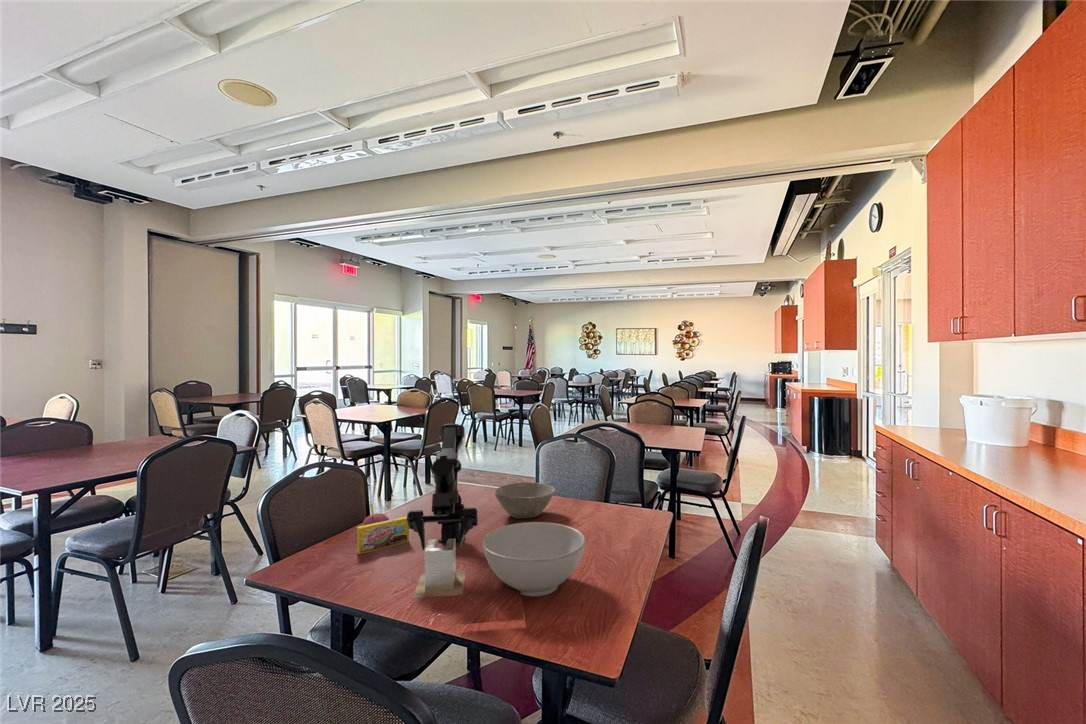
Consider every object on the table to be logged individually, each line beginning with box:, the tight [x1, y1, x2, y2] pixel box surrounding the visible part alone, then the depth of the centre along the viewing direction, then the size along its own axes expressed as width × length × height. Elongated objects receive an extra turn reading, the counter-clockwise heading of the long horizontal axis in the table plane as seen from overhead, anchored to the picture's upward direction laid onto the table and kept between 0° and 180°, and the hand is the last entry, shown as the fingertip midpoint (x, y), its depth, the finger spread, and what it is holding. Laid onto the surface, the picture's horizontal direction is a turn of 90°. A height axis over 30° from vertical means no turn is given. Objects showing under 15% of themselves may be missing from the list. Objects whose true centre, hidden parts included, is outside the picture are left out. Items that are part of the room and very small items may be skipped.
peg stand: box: [412, 570, 467, 599], centre depth 123 cm, size 14×12×6 cm
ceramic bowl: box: [494, 482, 556, 520], centre depth 181 cm, size 22×23×10 cm
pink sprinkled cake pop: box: [362, 500, 390, 526], centre depth 163 cm, size 9×8×12 cm
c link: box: [423, 538, 457, 592], centre depth 123 cm, size 8×7×10 cm
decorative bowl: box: [481, 521, 586, 597], centre depth 123 cm, size 27×27×12 cm
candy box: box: [356, 515, 410, 555], centre depth 151 cm, size 16×2×8 cm, turn 128°
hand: (441, 548), depth 124 cm, fingers open, 9 cm apart
